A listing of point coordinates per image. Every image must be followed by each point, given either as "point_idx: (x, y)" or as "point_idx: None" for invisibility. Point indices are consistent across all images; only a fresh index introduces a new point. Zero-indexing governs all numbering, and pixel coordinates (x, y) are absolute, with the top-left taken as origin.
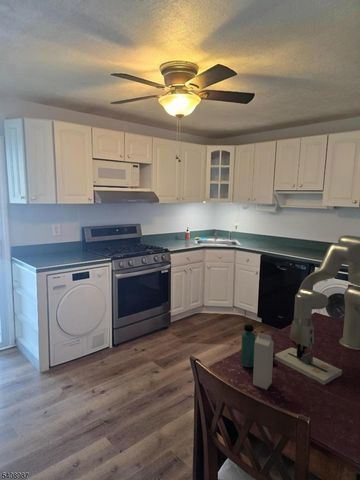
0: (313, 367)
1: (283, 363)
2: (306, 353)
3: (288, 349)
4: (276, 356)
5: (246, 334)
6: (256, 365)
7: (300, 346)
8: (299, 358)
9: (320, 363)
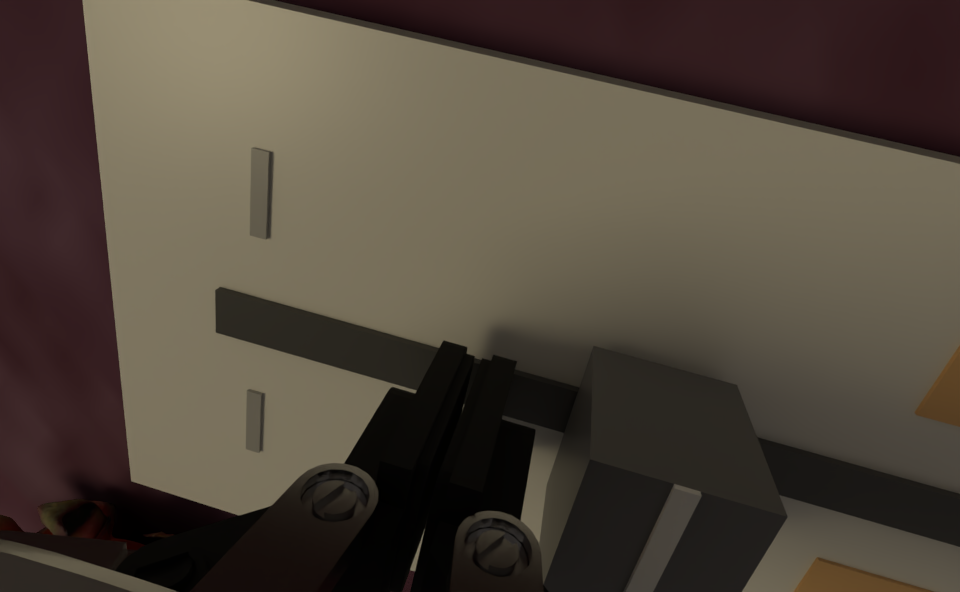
0: (788, 526)
1: None
2: (605, 556)
3: (119, 144)
4: (181, 492)
5: None
6: None
7: (362, 559)
8: None
9: (910, 306)
